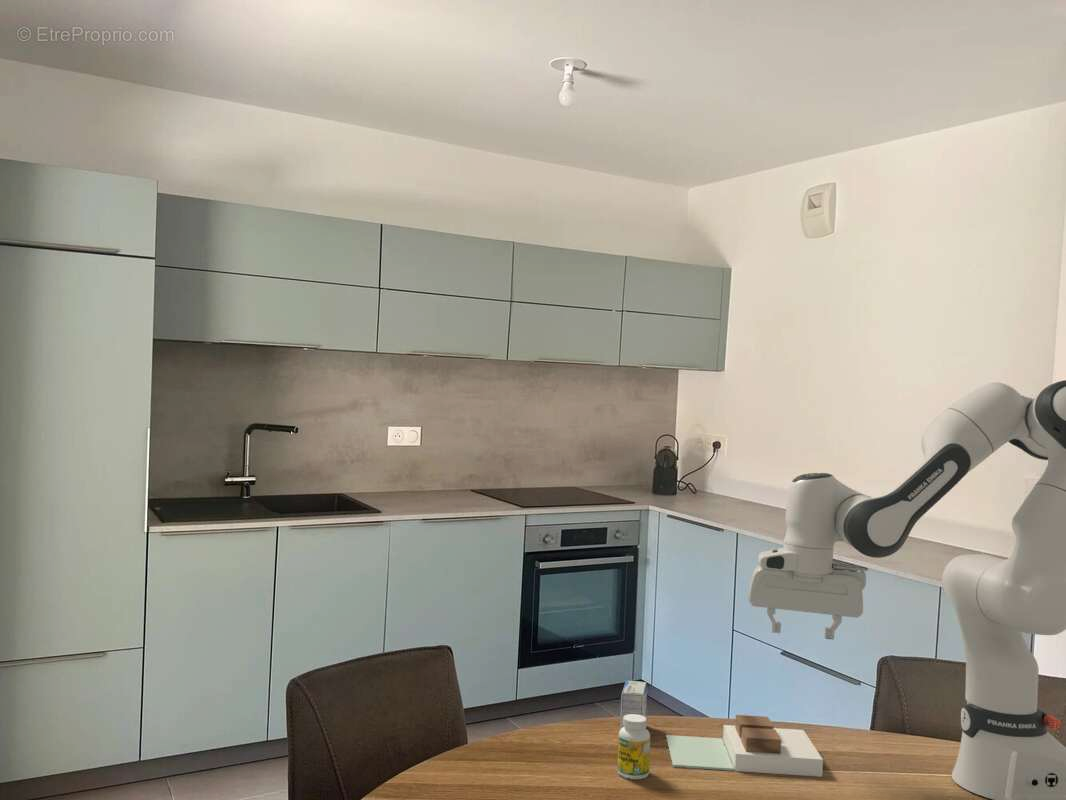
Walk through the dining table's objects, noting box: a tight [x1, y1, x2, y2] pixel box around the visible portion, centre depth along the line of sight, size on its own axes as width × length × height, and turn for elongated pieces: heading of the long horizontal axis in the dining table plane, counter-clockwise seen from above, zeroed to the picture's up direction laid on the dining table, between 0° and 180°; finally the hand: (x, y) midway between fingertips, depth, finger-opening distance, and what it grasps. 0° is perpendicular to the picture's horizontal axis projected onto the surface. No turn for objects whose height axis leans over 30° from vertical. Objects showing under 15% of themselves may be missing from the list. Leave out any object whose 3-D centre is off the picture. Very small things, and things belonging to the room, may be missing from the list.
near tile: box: [741, 727, 781, 754], centre depth 159 cm, size 6×5×2 cm
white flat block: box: [722, 724, 824, 778], centre depth 162 cm, size 15×14×3 cm
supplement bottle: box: [617, 714, 651, 780], centre depth 152 cm, size 5×5×10 cm
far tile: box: [734, 714, 774, 738], centre depth 165 cm, size 6×5×2 cm
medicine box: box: [619, 680, 648, 731], centre depth 172 cm, size 8×4×9 cm, turn 168°
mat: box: [665, 734, 735, 772], centre depth 163 cm, size 11×14×1 cm
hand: (802, 635), depth 164 cm, fingers open, 8 cm apart
